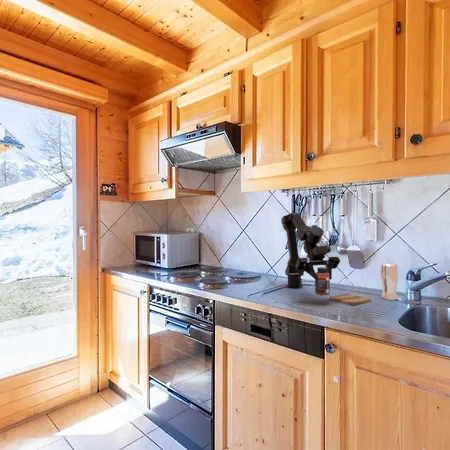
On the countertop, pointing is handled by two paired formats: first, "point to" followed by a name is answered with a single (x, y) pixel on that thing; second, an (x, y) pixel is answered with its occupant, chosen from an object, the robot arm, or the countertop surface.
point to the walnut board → (350, 299)
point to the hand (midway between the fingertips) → (323, 279)
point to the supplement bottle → (322, 282)
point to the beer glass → (389, 281)
